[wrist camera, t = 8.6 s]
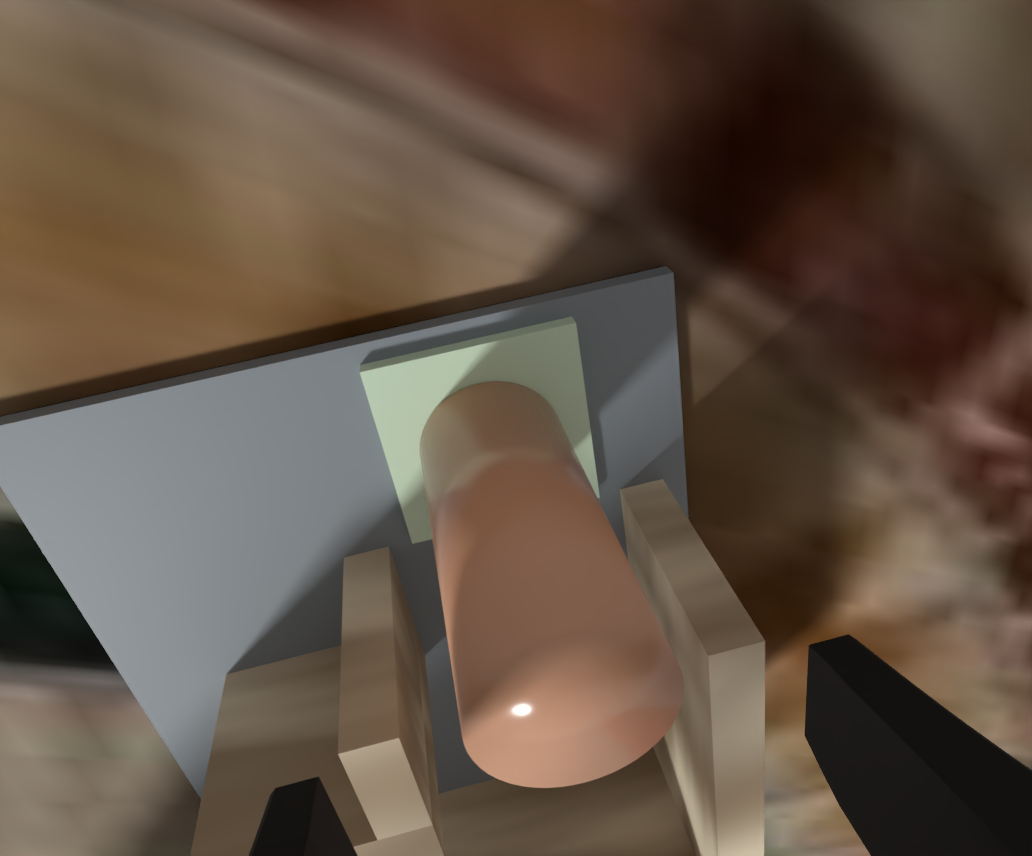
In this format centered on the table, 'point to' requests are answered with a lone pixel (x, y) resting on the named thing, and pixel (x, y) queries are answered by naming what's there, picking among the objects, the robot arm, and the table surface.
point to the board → (297, 500)
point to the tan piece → (494, 803)
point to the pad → (447, 369)
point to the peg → (538, 598)
